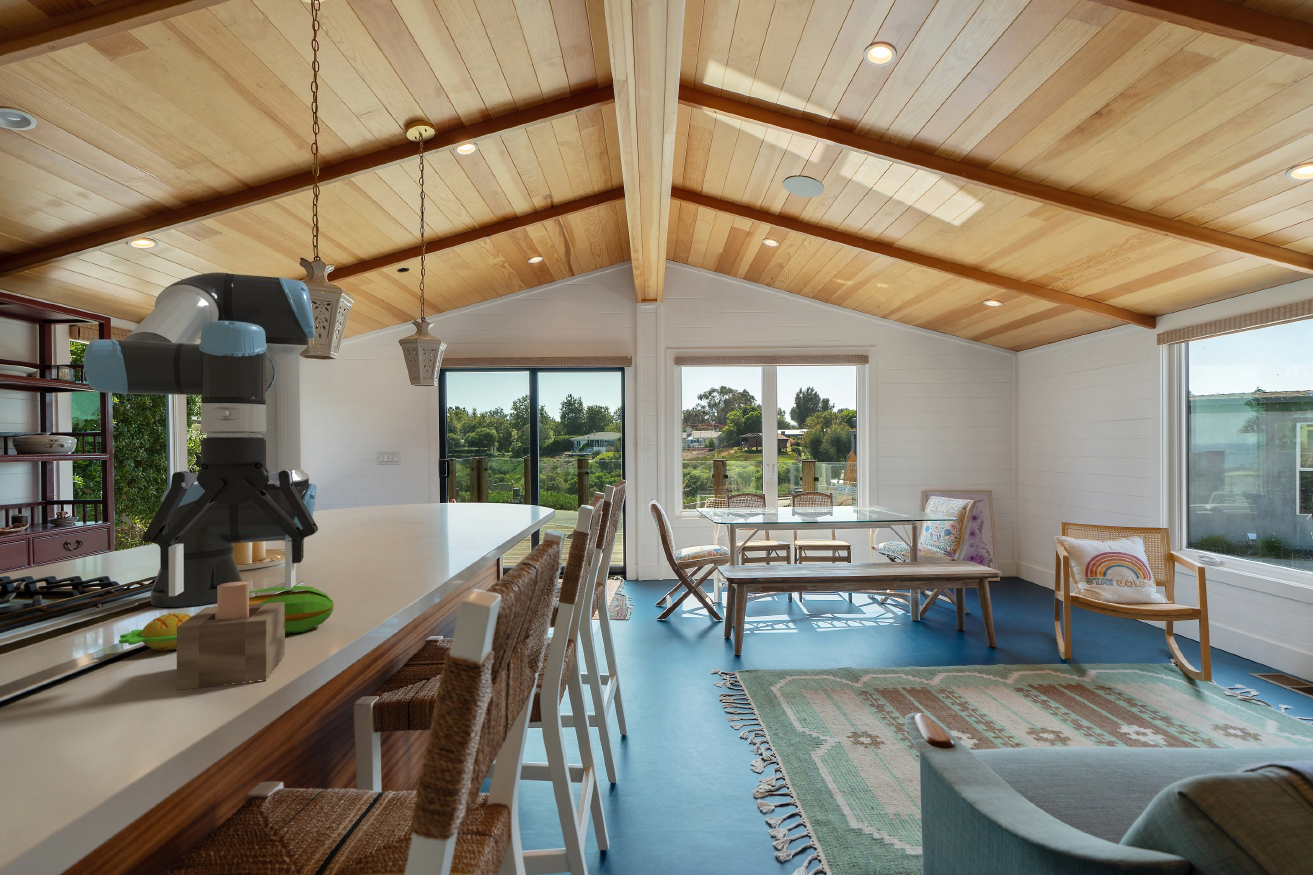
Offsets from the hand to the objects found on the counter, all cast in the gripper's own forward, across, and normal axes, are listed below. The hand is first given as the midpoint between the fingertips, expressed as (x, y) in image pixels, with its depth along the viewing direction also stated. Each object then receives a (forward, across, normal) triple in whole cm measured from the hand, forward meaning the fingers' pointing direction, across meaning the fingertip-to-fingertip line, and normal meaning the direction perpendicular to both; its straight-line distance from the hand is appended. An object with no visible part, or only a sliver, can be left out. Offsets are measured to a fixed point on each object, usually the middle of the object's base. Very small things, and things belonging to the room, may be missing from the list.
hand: (234, 590), depth 88 cm
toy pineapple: (+11, -13, +14) cm, 22 cm away
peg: (+11, 0, 0) cm, 11 cm away
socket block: (+11, 0, 0) cm, 11 cm away
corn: (+12, -1, +18) cm, 21 cm away
